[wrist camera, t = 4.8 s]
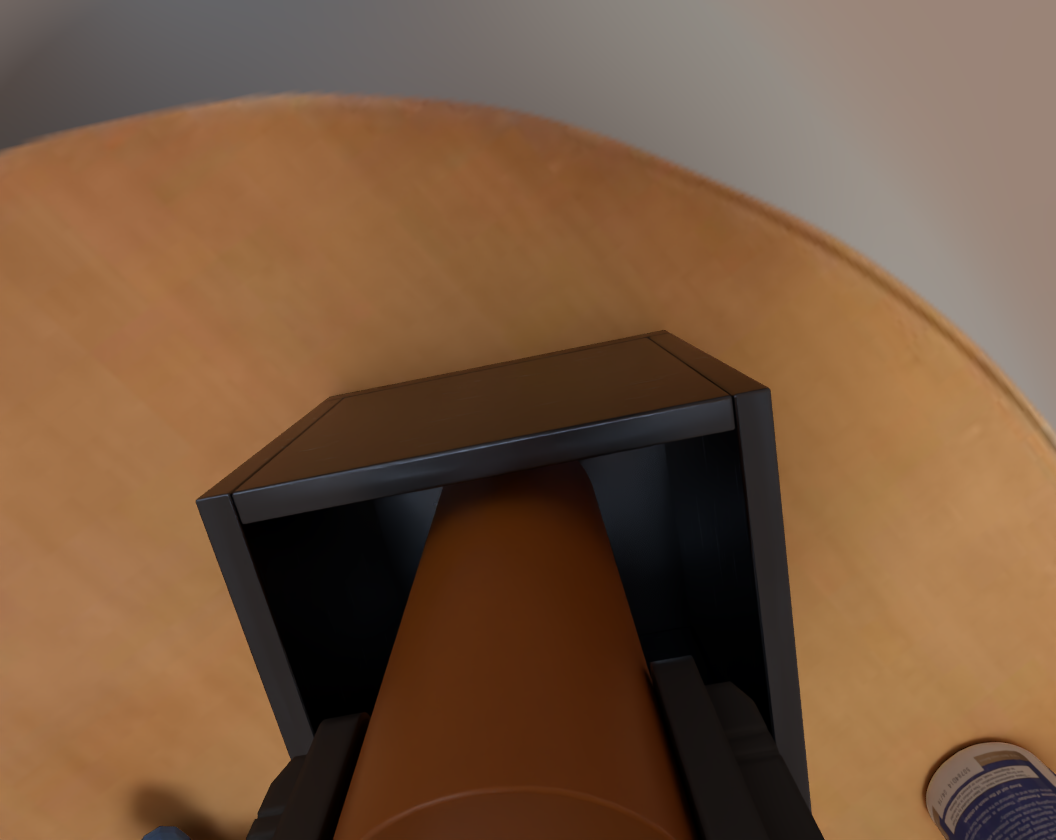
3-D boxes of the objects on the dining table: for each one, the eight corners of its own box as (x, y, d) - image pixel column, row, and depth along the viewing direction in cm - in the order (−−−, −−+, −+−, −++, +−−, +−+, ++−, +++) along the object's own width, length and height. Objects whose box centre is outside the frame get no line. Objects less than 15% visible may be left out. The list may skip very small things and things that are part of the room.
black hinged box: (328, 397, 23) (193, 500, 13) (665, 329, 22) (771, 387, 13) (411, 681, 26) (350, 924, 17) (707, 627, 26) (816, 847, 16)
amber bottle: (423, 451, 19) (205, 926, 6) (581, 420, 19) (728, 841, 6) (459, 590, 21) (349, 1234, 7) (607, 563, 20) (776, 1175, 7)
